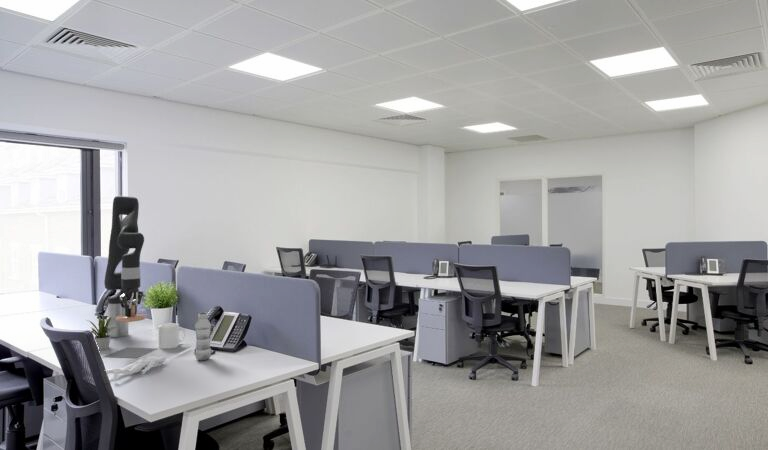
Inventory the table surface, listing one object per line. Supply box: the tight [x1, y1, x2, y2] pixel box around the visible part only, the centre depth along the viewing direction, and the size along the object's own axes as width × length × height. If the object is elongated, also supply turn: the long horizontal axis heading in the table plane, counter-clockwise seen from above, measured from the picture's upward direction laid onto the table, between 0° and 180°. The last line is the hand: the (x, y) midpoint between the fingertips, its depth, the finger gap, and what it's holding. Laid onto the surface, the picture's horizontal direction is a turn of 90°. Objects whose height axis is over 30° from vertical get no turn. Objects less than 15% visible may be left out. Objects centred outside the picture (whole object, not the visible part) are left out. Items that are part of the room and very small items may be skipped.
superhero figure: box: [105, 355, 166, 382], centre depth 189 cm, size 12×6×25 cm
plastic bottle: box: [194, 312, 212, 361], centre depth 205 cm, size 6×7×20 cm
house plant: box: [86, 315, 117, 351], centre depth 221 cm, size 14×14×16 cm
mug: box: [158, 322, 186, 350], centre depth 226 cm, size 9×12×11 cm
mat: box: [103, 346, 159, 360], centre depth 213 cm, size 16×16×1 cm
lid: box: [116, 305, 147, 323], centre depth 213 cm, size 12×12×6 cm
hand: (131, 315), depth 213 cm, fingers closed on lid, 3 cm apart
